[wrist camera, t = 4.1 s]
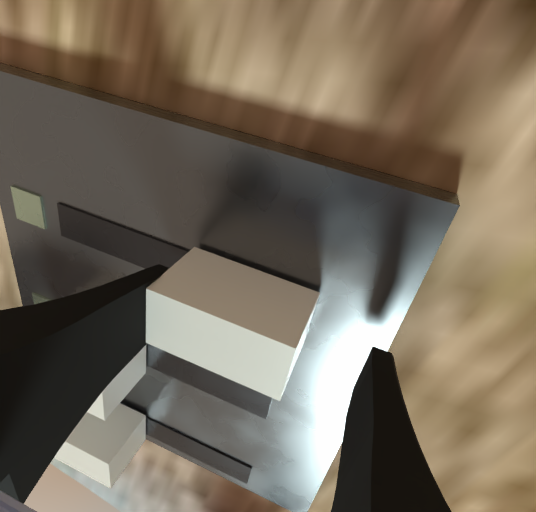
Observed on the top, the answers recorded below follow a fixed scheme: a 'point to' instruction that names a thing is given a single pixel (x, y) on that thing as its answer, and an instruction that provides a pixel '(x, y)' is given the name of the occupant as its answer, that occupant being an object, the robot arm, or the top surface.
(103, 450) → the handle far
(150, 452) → the top surface
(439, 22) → the top surface
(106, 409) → the handle middle
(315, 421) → the breaker panel
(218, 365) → the handle
